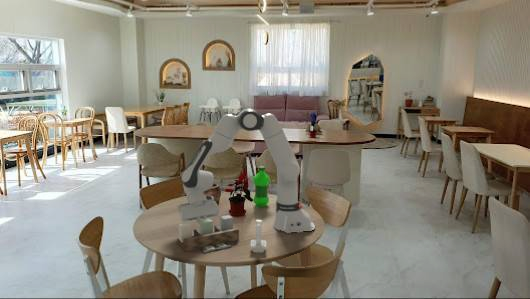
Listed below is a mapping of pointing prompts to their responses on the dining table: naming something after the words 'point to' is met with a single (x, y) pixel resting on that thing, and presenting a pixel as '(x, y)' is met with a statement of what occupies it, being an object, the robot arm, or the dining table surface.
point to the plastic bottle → (261, 187)
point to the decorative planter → (214, 193)
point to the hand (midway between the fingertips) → (203, 225)
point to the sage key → (206, 226)
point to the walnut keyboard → (210, 240)
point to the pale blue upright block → (226, 222)
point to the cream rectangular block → (185, 231)
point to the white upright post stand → (258, 239)
